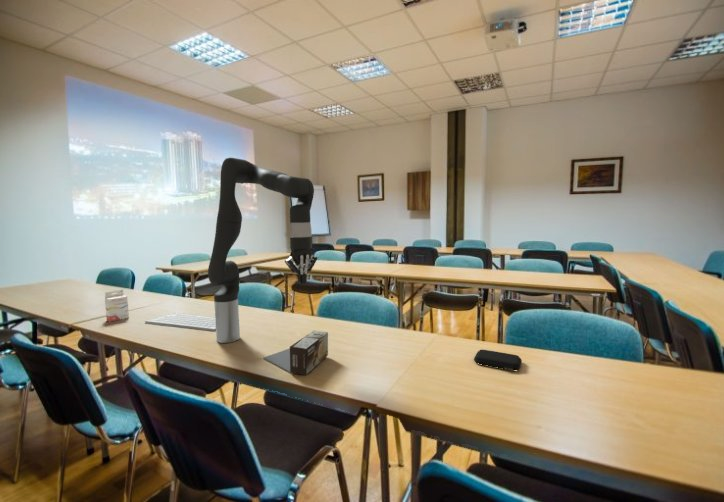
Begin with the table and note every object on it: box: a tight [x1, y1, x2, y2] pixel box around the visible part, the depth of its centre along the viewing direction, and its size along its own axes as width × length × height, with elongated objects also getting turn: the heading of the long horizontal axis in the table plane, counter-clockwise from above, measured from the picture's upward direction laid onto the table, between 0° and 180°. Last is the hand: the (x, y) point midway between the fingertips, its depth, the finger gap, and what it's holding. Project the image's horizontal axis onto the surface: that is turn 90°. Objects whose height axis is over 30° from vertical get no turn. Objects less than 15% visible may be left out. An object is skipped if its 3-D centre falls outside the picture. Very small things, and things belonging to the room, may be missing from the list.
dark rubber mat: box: [262, 347, 324, 375], centre depth 122 cm, size 18×13×1 cm
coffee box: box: [289, 330, 329, 375], centre depth 117 cm, size 9×6×16 cm
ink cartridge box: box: [104, 289, 130, 323], centre depth 174 cm, size 9×5×15 cm, turn 144°
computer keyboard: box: [144, 312, 216, 332], centre depth 169 cm, size 43×19×2 cm, turn 70°
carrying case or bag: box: [473, 349, 523, 371], centre depth 117 cm, size 11×3×15 cm
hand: (302, 284), depth 120 cm, fingers closed
